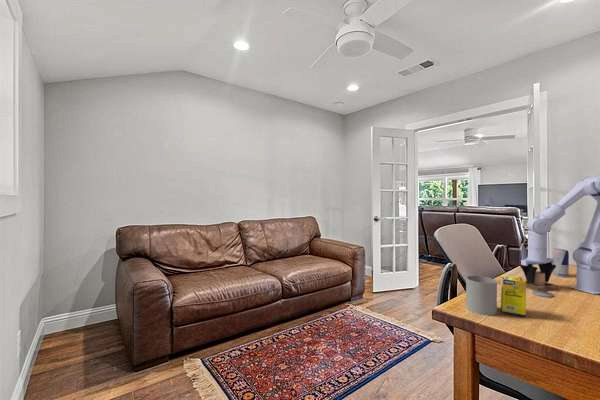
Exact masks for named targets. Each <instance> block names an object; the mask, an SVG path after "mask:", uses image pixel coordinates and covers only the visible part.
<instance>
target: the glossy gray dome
mask: <svg viewBox="0 0 600 400" xmlns="http://www.w3.org/2000/svg"><path fill="white" fill-rule="evenodd" d="M531 292H532V293H531V294H533V295H535V296H538V297H541V298H554V297H555V295H554V294H553V293H551V292H549V291H535V290H531Z"/></svg>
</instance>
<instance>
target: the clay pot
mask: <svg viewBox="0 0 600 400" xmlns="http://www.w3.org/2000/svg"><path fill="white" fill-rule="evenodd" d="M530 284H531V283H530ZM531 285H534V286H537V287H539V286H545V273H544V272H540V271H538V270H536V273H535V278H534V283H533V284H531Z"/></svg>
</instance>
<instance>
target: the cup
mask: <svg viewBox="0 0 600 400" xmlns="http://www.w3.org/2000/svg"><path fill="white" fill-rule="evenodd" d="M465 293H466V294H465V306H466V307H465V308H466V310H467V311H469V312H471V313H473V314H476V315H480V316H495V315H497V312H498V281H497V280H496V279H494V278H491V277H487V276H484V275H483V276H482V275H468V276H466V277H465Z"/></svg>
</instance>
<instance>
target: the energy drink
mask: <svg viewBox="0 0 600 400" xmlns="http://www.w3.org/2000/svg"><path fill="white" fill-rule="evenodd" d="M569 256H570V252H569V249H565V248H553V250H552V259H554V265H556V268H555V269H554V270H553V272H552V276H555V277H558V278H559V277H561V278H568V277H569V276H570V275H569V274H570V273H569V271H570V267H569V264H570V262H569V261H570V260H569V259H570V257H569Z"/></svg>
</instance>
